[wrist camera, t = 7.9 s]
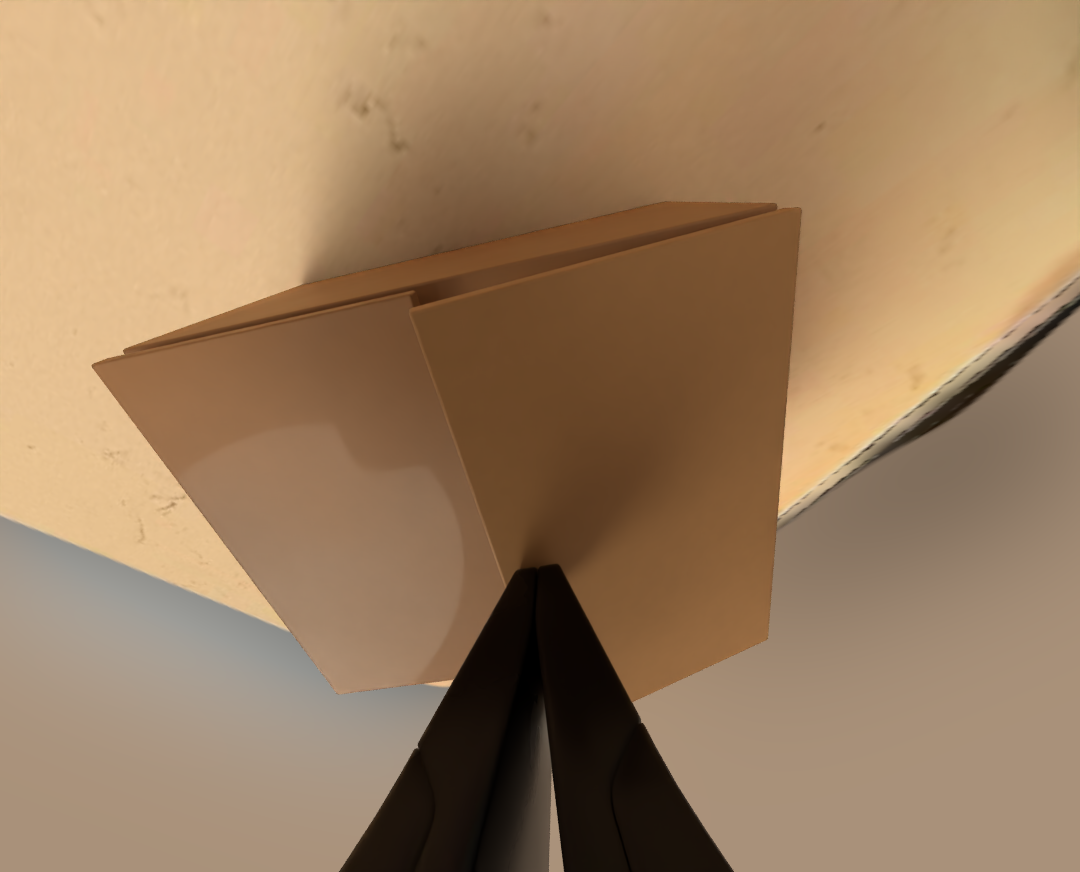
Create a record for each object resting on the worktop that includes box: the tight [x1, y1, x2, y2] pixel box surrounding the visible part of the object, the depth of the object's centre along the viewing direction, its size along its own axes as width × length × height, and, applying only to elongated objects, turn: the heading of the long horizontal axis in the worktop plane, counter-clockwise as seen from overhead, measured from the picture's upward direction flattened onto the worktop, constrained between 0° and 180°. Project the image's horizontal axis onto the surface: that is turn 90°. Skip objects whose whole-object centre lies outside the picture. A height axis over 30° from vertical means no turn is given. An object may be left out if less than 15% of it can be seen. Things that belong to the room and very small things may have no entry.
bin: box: [92, 202, 777, 694], centre depth 14 cm, size 13×11×8 cm
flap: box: [409, 207, 802, 702], centre depth 9 cm, size 6×11×1 cm, turn 12°
